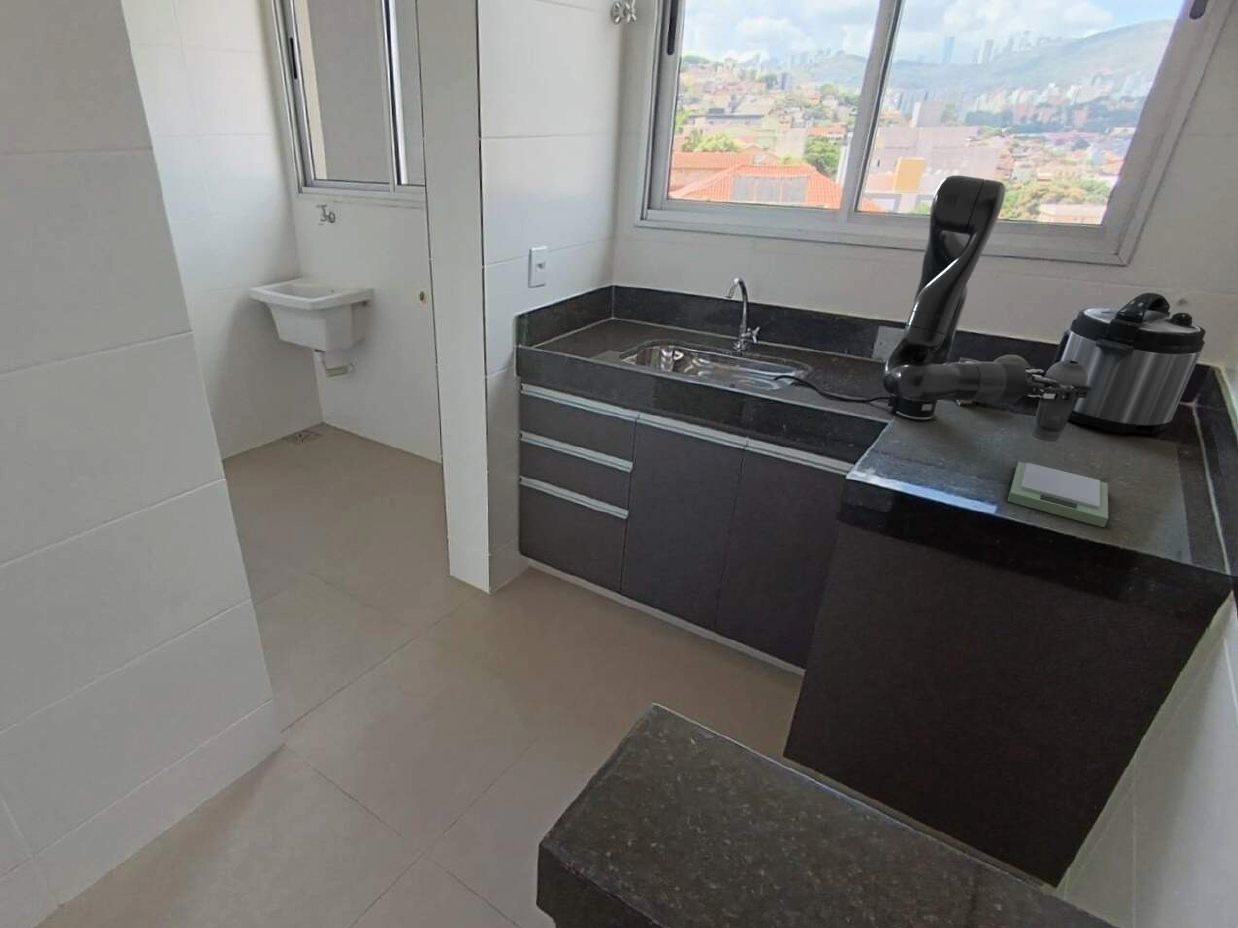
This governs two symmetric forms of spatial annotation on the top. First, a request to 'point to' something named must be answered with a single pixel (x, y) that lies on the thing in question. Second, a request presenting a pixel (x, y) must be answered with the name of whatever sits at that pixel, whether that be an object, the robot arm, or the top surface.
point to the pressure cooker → (1132, 363)
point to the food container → (966, 402)
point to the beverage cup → (1057, 414)
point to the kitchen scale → (1060, 493)
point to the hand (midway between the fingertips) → (1074, 384)
